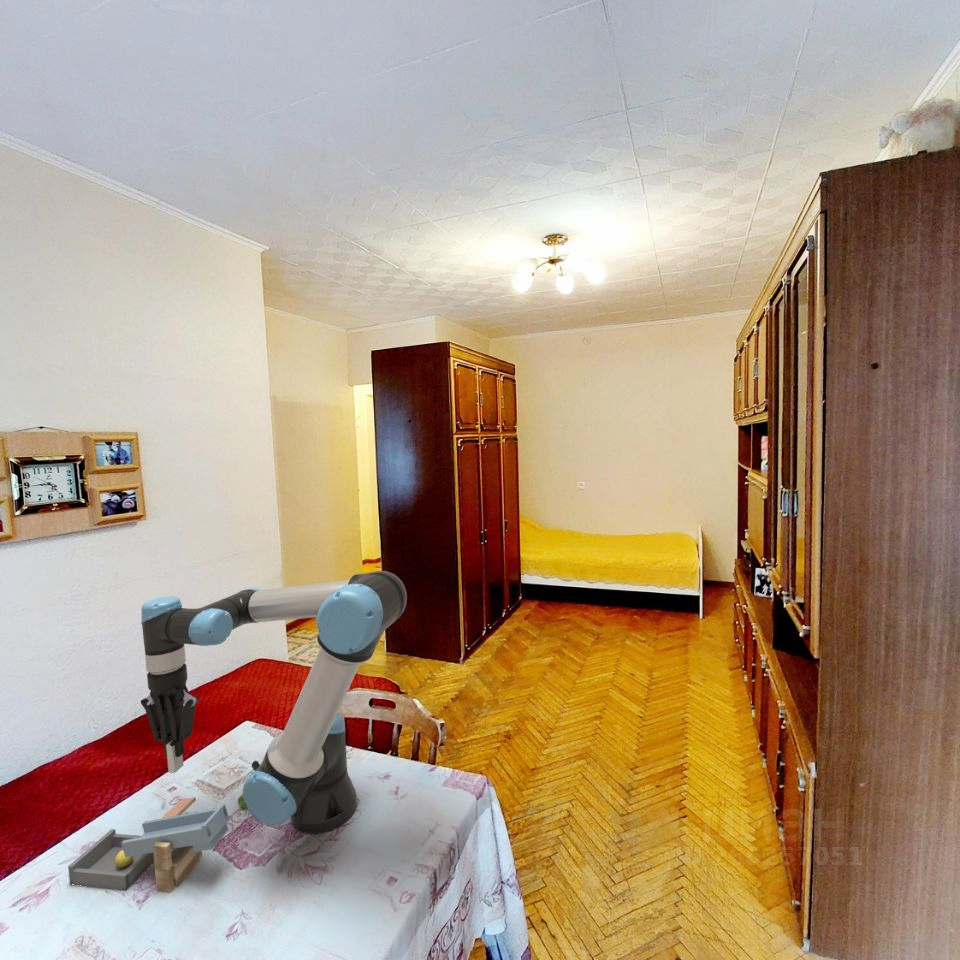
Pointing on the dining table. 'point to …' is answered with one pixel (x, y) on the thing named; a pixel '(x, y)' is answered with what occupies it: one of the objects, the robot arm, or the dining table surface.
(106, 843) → the tray
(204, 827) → the lever
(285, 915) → the dining table surface
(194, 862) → the fulcrum
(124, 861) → the ball
